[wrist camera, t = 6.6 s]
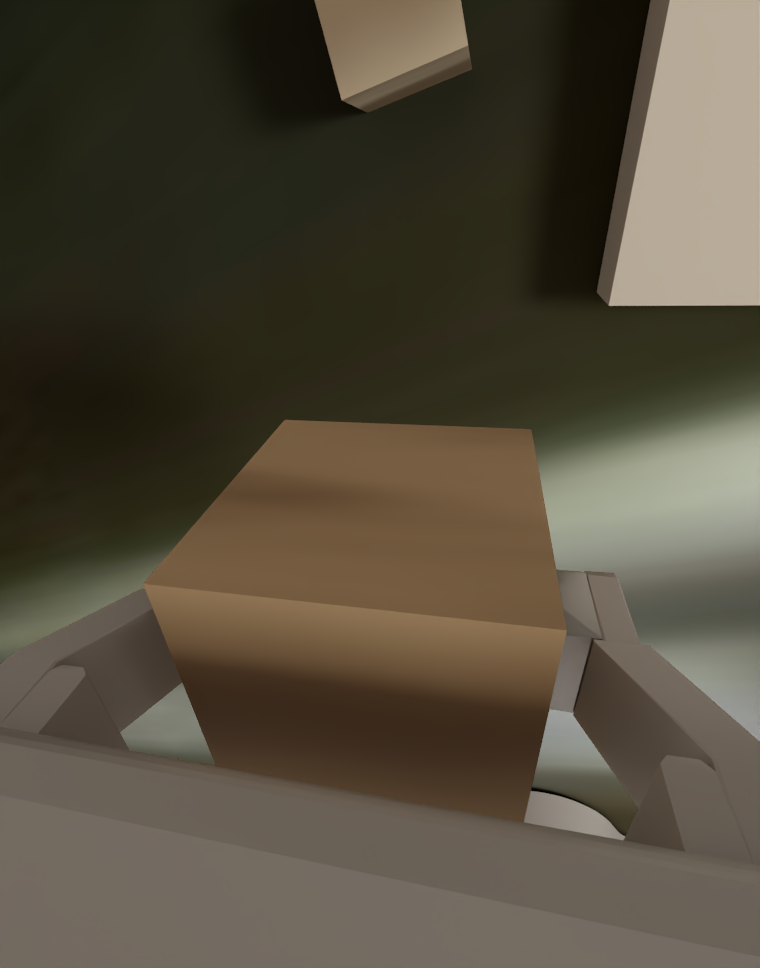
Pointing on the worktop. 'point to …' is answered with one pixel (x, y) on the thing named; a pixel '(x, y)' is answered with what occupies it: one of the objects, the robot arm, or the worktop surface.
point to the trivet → (690, 162)
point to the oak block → (374, 613)
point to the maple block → (392, 47)
